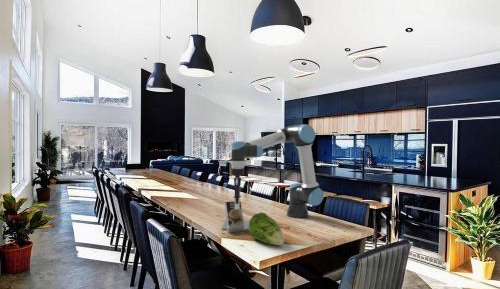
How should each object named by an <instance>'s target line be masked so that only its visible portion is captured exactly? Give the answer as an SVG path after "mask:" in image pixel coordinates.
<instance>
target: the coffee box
mask: <svg viewBox="0 0 500 289" xmlns="http://www.w3.org/2000/svg"><path fill="white" fill-rule="evenodd" d="M224 211H225V220H226V223H227V230H226V232H240V231H243V228H244V221H245V220H244V216H243V215H244V214H243V209H242V202H241V201H240V209H235V201H226V202H225V205H224Z"/></svg>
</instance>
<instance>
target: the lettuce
mask: <svg viewBox="0 0 500 289" xmlns="http://www.w3.org/2000/svg"><path fill="white" fill-rule="evenodd" d="M248 221H249V231H248V232H249V234H250V235H251V236H252V237H253V238H254V239H256V240H258V241H259V242H262V243H265V244H269V245H275V246H282V245H284V243H285V238H284V237H285V236H284V235H283V231H282V229H281V227H280V226H279V225H278V223H277V222H276V220H274V219H273V218H272V217H271V216H270V215H268V214H267V213H265V212H259V213H258V212H257V213H255V214H254V215H252V216H251V217H250V219H249V220H248Z"/></svg>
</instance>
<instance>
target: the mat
mask: <svg viewBox="0 0 500 289" xmlns="http://www.w3.org/2000/svg"><path fill="white" fill-rule="evenodd" d="M243 221H244V228H243V230H242V231H245V232H247V231H248V232H250V231H249V221H250V220H243ZM221 231H227V223H226V219H225V221H224V222H223V225H222V227H221Z"/></svg>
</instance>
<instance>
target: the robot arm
mask: <svg viewBox="0 0 500 289" xmlns="http://www.w3.org/2000/svg"><path fill="white" fill-rule="evenodd" d="M315 138H316V131H315V129H314V128H313V126H312V125H309V124H293V125H289V126H286V127H283V128H280V129H278V130H276V132H274V133H271V134H268V135H265V136H262V137H259V138H256V139H253V140H250V141H248V142H245V141H244V140H243V141H241V140H239V141H238V140H237V141H236V140H235V141H232V142H231V147H230V148H231V151H230V152H231V154H230V155H231V158H230V159H231V161H230V164H231V169H230V175H231V176H234V178H233V182H234V183H233V186H234V196H233V198H234V202H235V209H240V200H241V196H242V195H241V182H242V177H241V176H244V175H245V158H247V159H248V158H256V159H257V158H262V156H263V154H264V149H267V148H271V147H273V146H276V145H278V144H286V143H294V146H295V148H296V149H297V150H298V159H299V164H300V171H301V180H302V182H297V183H296V182H295V183H290V185H289V205H288V208H287V210H286V216H287V217H289V218H295V219H296V218H297V219H304V218H308V217H309V211H308V206H307V204H308V205H310V206H319V205H320V204H321V203H322V201H323V200H324V197H325V195H324V191H323V190H322V189H321V188H320V184H319V183H318V182H317V180H316V174H315V166H314V158H313V152H312V145H313V144H314V143H313V142H314V140H315Z"/></svg>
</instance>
